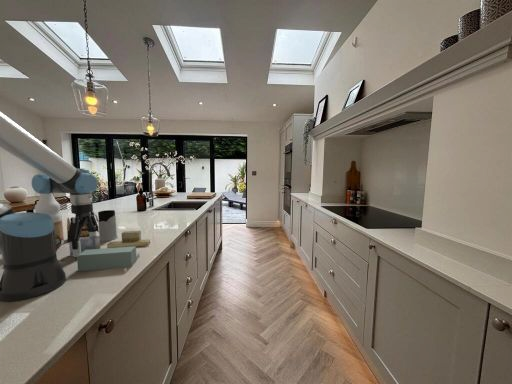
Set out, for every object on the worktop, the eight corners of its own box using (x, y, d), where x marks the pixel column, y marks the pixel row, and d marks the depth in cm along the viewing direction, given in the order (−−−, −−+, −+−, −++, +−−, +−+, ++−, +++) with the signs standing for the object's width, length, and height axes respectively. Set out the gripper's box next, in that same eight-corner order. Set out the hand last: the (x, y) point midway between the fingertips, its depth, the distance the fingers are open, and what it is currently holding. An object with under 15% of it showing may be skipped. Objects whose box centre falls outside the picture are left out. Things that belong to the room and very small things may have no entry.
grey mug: (110, 241, 115) (109, 213, 114) (84, 241, 115) (82, 213, 114) (121, 236, 124) (119, 209, 122) (96, 236, 124) (94, 209, 123)
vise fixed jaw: (131, 266, 84) (130, 251, 84) (78, 271, 81) (76, 255, 80) (139, 256, 94) (138, 243, 94) (92, 260, 90) (90, 246, 90)
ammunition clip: (92, 236, 124) (91, 215, 123) (92, 236, 123) (90, 215, 122) (68, 239, 119) (66, 217, 117) (67, 240, 117) (65, 218, 116)
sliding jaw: (148, 245, 108) (147, 233, 107) (107, 248, 104) (106, 236, 103) (151, 241, 115) (151, 230, 114) (113, 243, 111) (112, 232, 110)
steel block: (96, 253, 98) (95, 238, 97) (70, 255, 96) (68, 240, 95) (100, 250, 102) (99, 236, 101) (75, 252, 99) (74, 237, 99)
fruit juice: (55, 248, 105) (49, 189, 102) (32, 249, 103) (26, 190, 100) (68, 242, 114) (63, 188, 111) (48, 243, 112) (42, 188, 110)
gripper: (74, 208, 85) (79, 260, 87) (104, 199, 109) (107, 240, 111) (52, 209, 83) (57, 262, 86) (87, 200, 108) (90, 241, 110)
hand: (86, 250), depth 99 cm, fingers open, 13 cm apart
